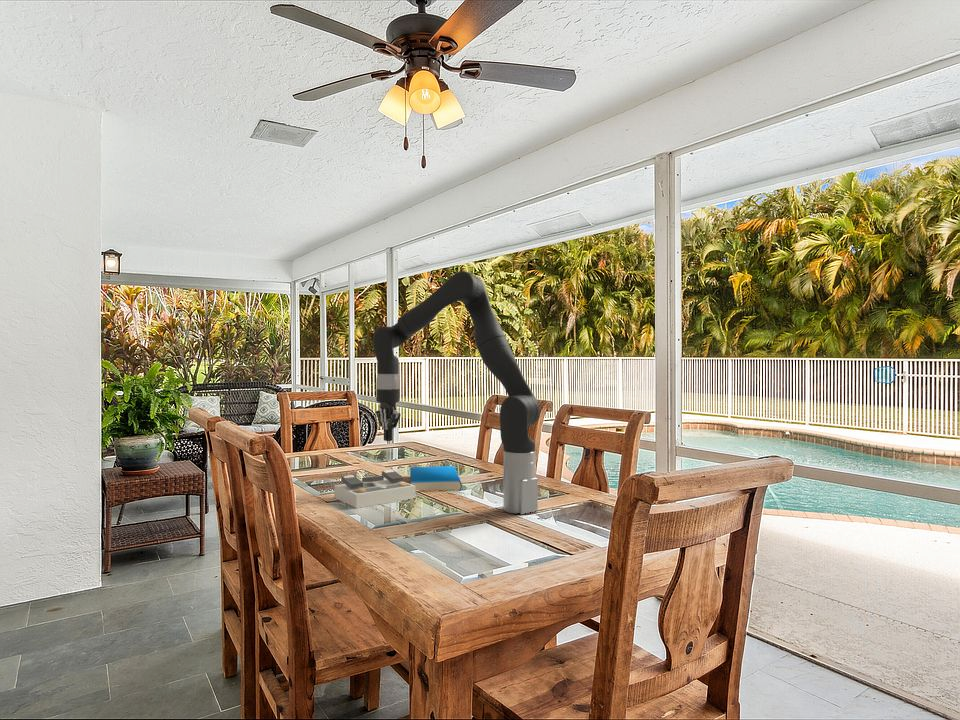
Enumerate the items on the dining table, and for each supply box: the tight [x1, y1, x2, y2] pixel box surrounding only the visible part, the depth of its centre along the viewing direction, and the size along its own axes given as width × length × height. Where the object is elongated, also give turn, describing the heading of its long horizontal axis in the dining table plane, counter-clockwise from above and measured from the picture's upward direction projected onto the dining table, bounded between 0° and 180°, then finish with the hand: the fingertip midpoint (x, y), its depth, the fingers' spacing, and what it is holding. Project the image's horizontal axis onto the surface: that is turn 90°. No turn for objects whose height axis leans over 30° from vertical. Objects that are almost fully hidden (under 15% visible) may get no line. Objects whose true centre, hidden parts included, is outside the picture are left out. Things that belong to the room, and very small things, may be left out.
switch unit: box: [333, 477, 417, 509], centre depth 187 cm, size 16×20×4 cm
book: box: [409, 465, 463, 491], centre depth 209 cm, size 17×4×25 cm
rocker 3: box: [381, 469, 404, 483], centre depth 192 cm, size 7×4×2 cm, turn 37°
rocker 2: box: [361, 475, 384, 482], centre depth 188 cm, size 7×4×2 cm, turn 37°
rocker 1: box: [341, 474, 363, 489], centre depth 184 cm, size 7×4×2 cm, turn 37°
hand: (387, 440), depth 194 cm, fingers closed
